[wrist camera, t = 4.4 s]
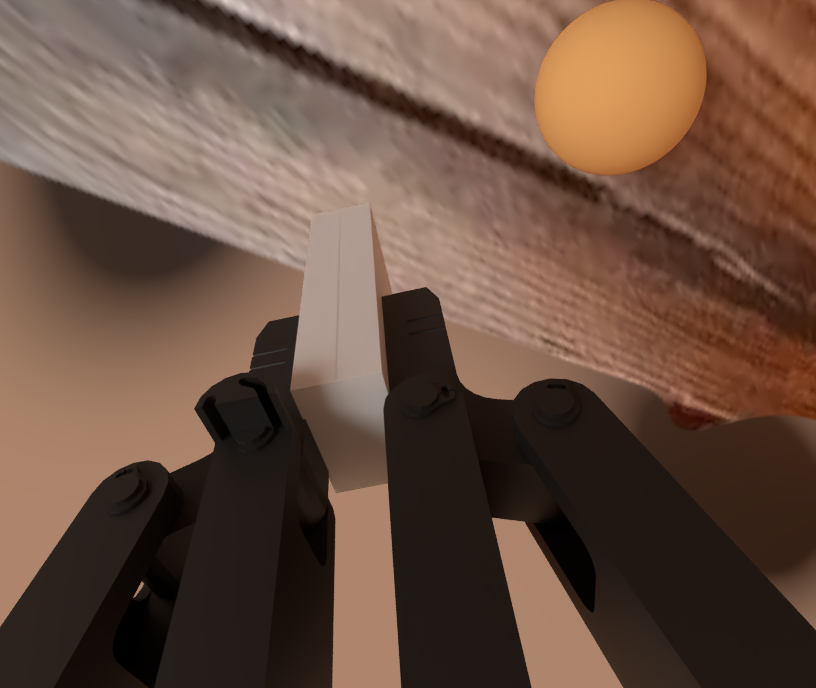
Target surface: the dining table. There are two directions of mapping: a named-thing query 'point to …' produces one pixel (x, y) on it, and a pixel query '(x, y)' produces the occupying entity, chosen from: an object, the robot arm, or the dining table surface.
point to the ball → (620, 86)
